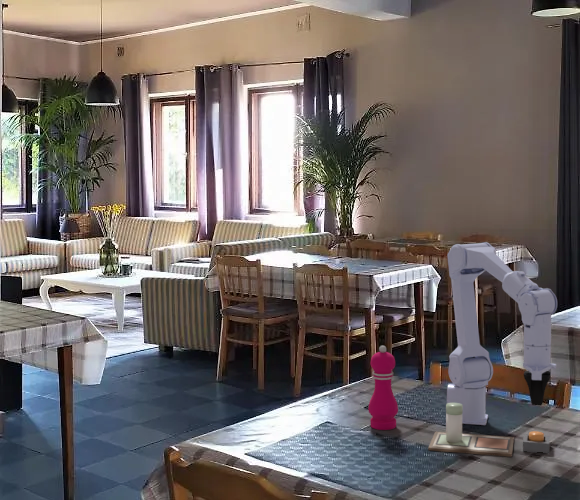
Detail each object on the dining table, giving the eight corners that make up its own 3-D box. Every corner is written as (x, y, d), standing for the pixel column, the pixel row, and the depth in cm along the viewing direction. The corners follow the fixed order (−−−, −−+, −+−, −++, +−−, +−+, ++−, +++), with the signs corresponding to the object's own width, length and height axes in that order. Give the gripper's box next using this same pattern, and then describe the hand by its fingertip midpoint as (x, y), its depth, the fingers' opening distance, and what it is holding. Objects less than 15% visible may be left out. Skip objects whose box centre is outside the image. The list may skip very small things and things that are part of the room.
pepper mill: (397, 431, 205) (396, 349, 203) (366, 430, 206) (366, 348, 204) (399, 422, 212) (398, 343, 210) (370, 421, 213) (369, 342, 211)
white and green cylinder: (444, 441, 194) (444, 406, 193) (447, 436, 197) (447, 401, 196) (460, 443, 193) (461, 408, 192) (463, 438, 196) (464, 403, 195)
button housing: (522, 451, 189) (522, 441, 189) (523, 443, 194) (523, 434, 194) (549, 453, 187) (549, 443, 187) (549, 445, 193) (549, 435, 192)
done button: (528, 443, 190) (528, 435, 189) (529, 438, 193) (529, 430, 192) (543, 444, 189) (543, 436, 188) (543, 439, 192) (543, 431, 191)
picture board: (428, 450, 191) (428, 446, 191) (435, 433, 202) (435, 430, 202) (511, 456, 186) (511, 453, 185) (514, 439, 197) (514, 436, 197)
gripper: (556, 351, 180) (555, 414, 182) (556, 338, 194) (555, 397, 195) (521, 350, 182) (521, 412, 184) (524, 337, 196) (523, 395, 198)
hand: (536, 404), depth 190 cm, fingers closed
